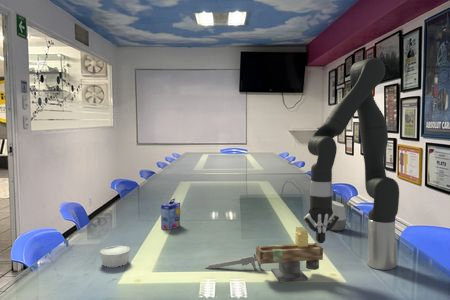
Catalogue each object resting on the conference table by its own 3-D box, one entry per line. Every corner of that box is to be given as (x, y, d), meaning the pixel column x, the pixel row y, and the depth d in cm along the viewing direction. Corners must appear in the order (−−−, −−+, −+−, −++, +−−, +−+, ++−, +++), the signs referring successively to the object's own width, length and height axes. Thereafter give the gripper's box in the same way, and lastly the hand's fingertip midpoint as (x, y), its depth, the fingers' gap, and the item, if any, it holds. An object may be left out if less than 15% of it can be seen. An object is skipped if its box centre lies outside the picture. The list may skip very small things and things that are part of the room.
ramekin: (119, 256, 160) (118, 243, 160) (136, 262, 153) (136, 249, 152) (94, 264, 151) (93, 250, 151) (111, 271, 144) (111, 257, 144)
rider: (304, 250, 142) (304, 226, 141) (309, 255, 137) (309, 230, 136) (294, 251, 141) (294, 227, 140) (299, 256, 136) (299, 231, 136)
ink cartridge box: (169, 230, 195) (169, 201, 194) (160, 229, 198) (159, 200, 197) (181, 225, 204) (180, 197, 203) (172, 224, 206) (171, 196, 205)
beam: (313, 268, 146) (314, 240, 145) (324, 279, 136) (325, 249, 135) (254, 272, 142) (254, 244, 141) (261, 283, 132) (261, 253, 131)
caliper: (260, 268, 146) (260, 251, 146) (260, 269, 145) (260, 252, 144) (205, 268, 147) (204, 251, 147) (204, 269, 146) (204, 252, 146)
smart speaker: (346, 232, 189) (347, 203, 188) (326, 231, 191) (327, 202, 190) (344, 227, 198) (345, 199, 197) (325, 226, 200) (326, 198, 199)
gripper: (334, 191, 143) (333, 238, 145) (299, 192, 141) (298, 240, 142) (344, 195, 136) (343, 244, 137) (306, 196, 134) (306, 247, 135)
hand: (320, 242), depth 140 cm, fingers closed
